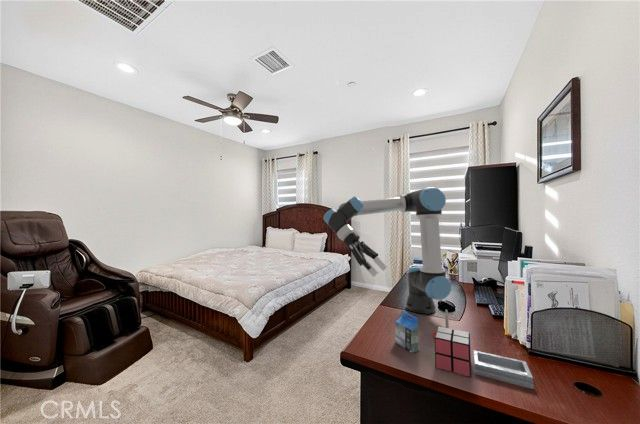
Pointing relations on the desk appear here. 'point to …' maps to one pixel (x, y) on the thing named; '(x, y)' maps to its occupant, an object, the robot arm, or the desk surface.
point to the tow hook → (445, 321)
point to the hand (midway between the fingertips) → (381, 271)
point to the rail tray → (503, 369)
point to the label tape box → (407, 332)
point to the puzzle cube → (453, 351)
